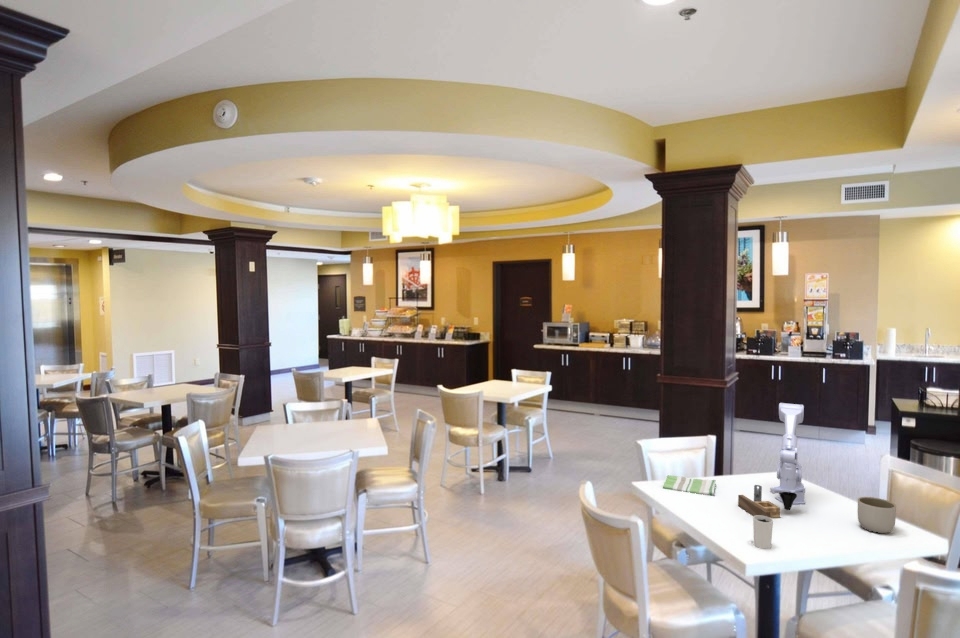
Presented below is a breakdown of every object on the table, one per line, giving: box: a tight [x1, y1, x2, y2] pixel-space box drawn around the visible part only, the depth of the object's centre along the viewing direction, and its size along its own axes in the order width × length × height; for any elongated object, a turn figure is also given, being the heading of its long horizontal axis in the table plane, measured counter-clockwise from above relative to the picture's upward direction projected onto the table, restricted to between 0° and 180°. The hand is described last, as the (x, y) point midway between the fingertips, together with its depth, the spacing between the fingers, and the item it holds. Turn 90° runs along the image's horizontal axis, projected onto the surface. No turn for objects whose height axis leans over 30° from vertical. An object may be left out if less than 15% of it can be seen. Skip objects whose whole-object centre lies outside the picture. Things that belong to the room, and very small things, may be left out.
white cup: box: [752, 515, 774, 550], centre depth 208 cm, size 7×7×10 cm
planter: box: [857, 496, 897, 534], centre depth 223 cm, size 12×12×11 cm
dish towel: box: [662, 474, 717, 497], centre depth 271 cm, size 17×23×4 cm
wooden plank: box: [737, 494, 770, 518], centre depth 237 cm, size 2×20×5 cm, turn 5°
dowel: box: [753, 484, 763, 501], centre depth 250 cm, size 3×3×8 cm
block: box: [752, 500, 781, 519], centre depth 237 cm, size 8×8×4 cm
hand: (787, 509), depth 238 cm, fingers closed
